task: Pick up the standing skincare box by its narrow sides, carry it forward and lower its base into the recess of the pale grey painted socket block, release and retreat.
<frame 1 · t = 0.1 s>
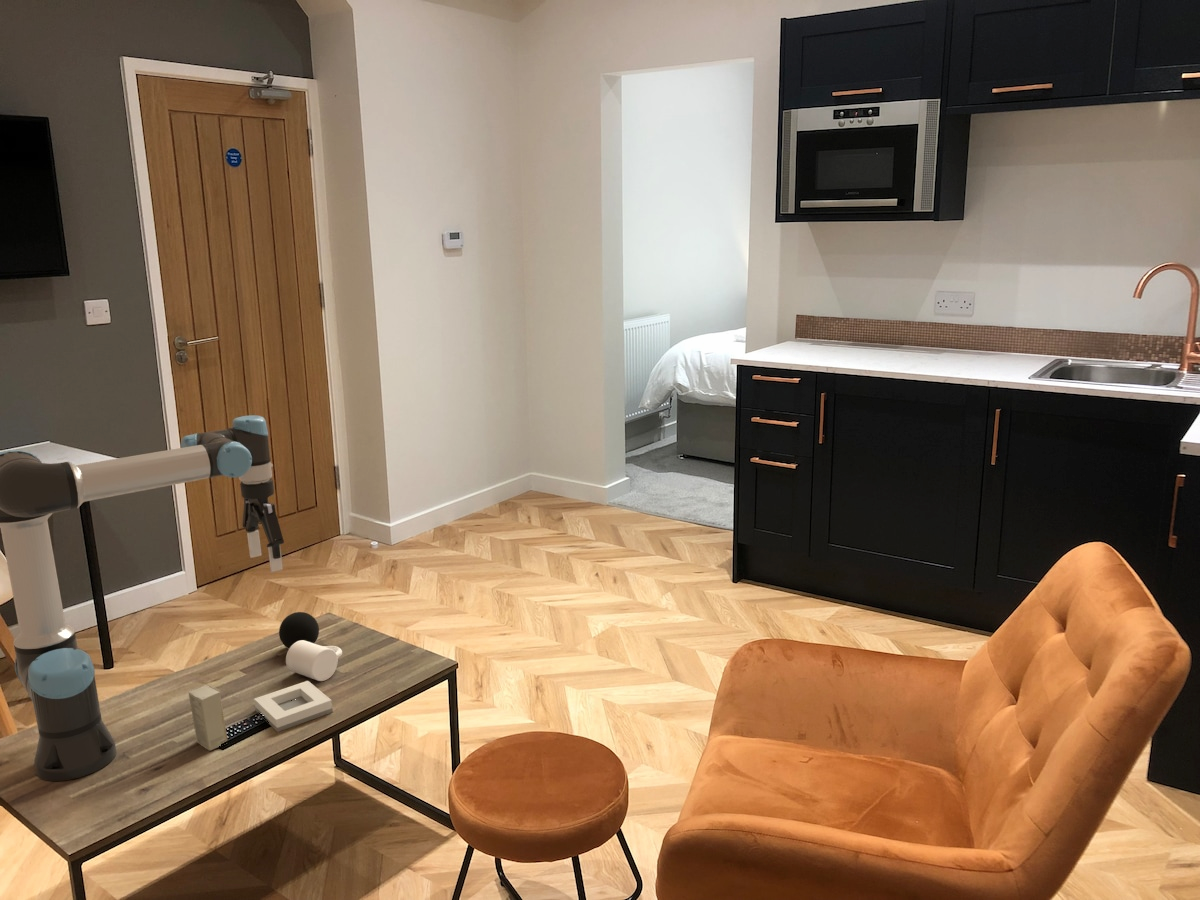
hand: (266, 563, 239), 28 cm above the table, fingers open, 13 cm apart
socket block: (293, 711, 223), on the table
skincare box: (211, 743, 211), on the table
decorative ball: (301, 649, 256), on the table
mug: (319, 672, 243), on the table
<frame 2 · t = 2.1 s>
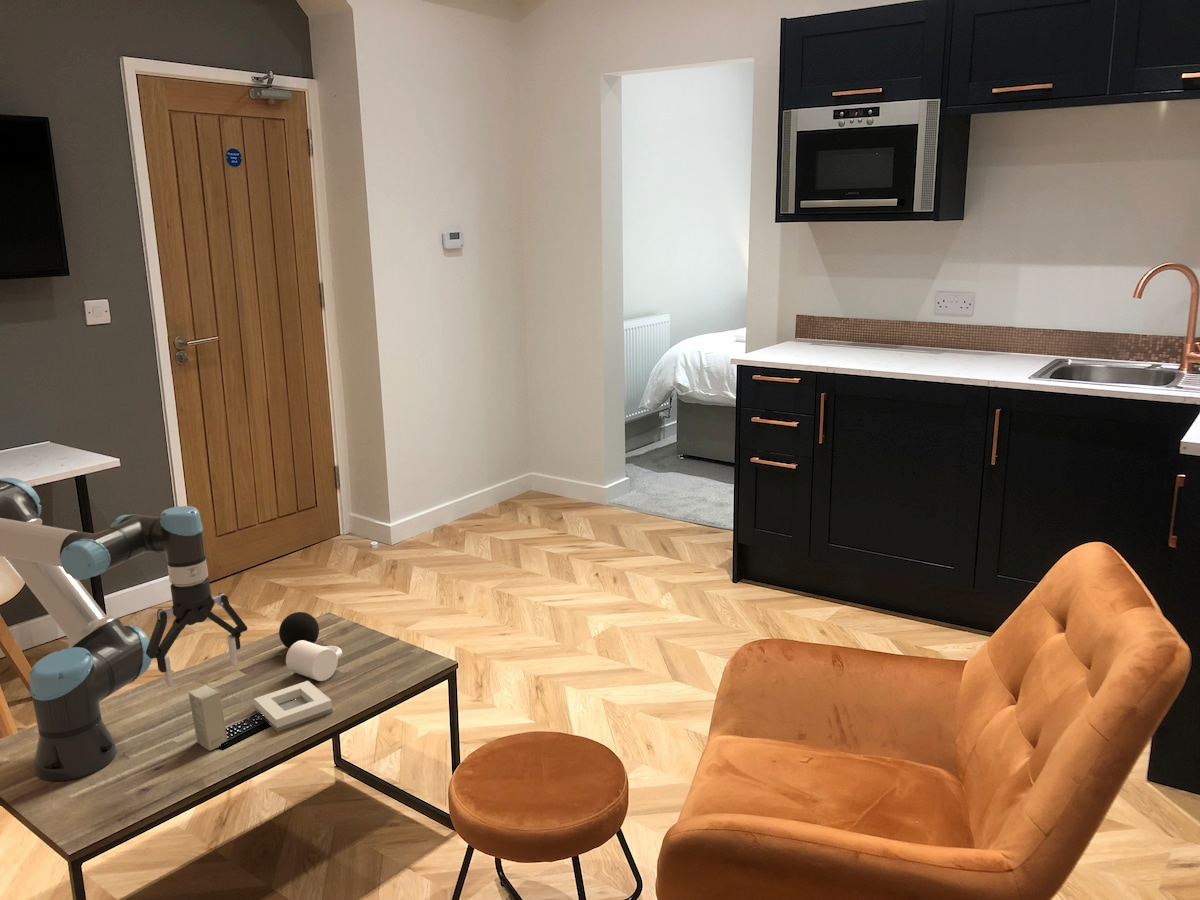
hand: (202, 674, 207), 16 cm above the table, fingers open, 13 cm apart
nothing on the table moved.
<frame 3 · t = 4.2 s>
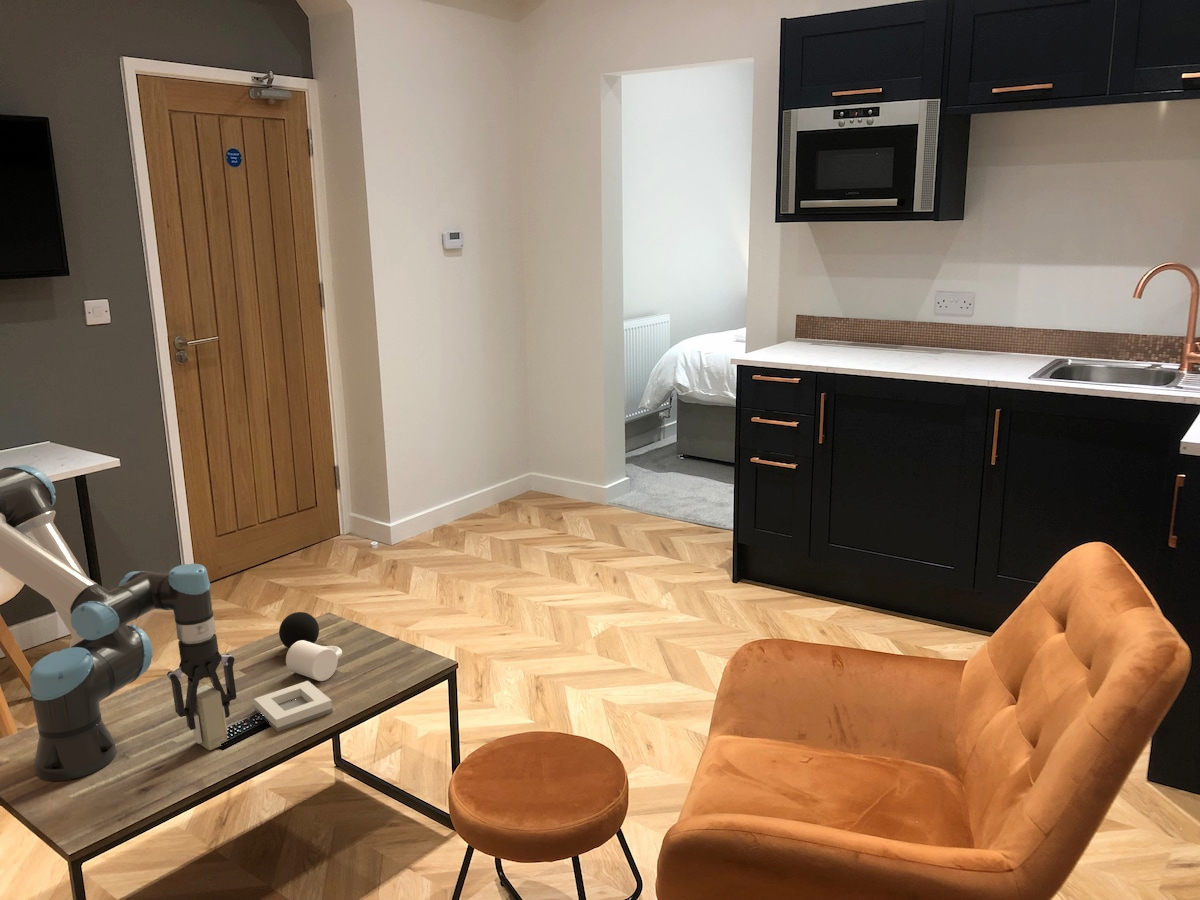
hand: (211, 736, 211), 2 cm above the table, fingers closed on skincare box, 5 cm apart
skincare box: (211, 743, 211), on the table, touching gripper
everything else where it was.
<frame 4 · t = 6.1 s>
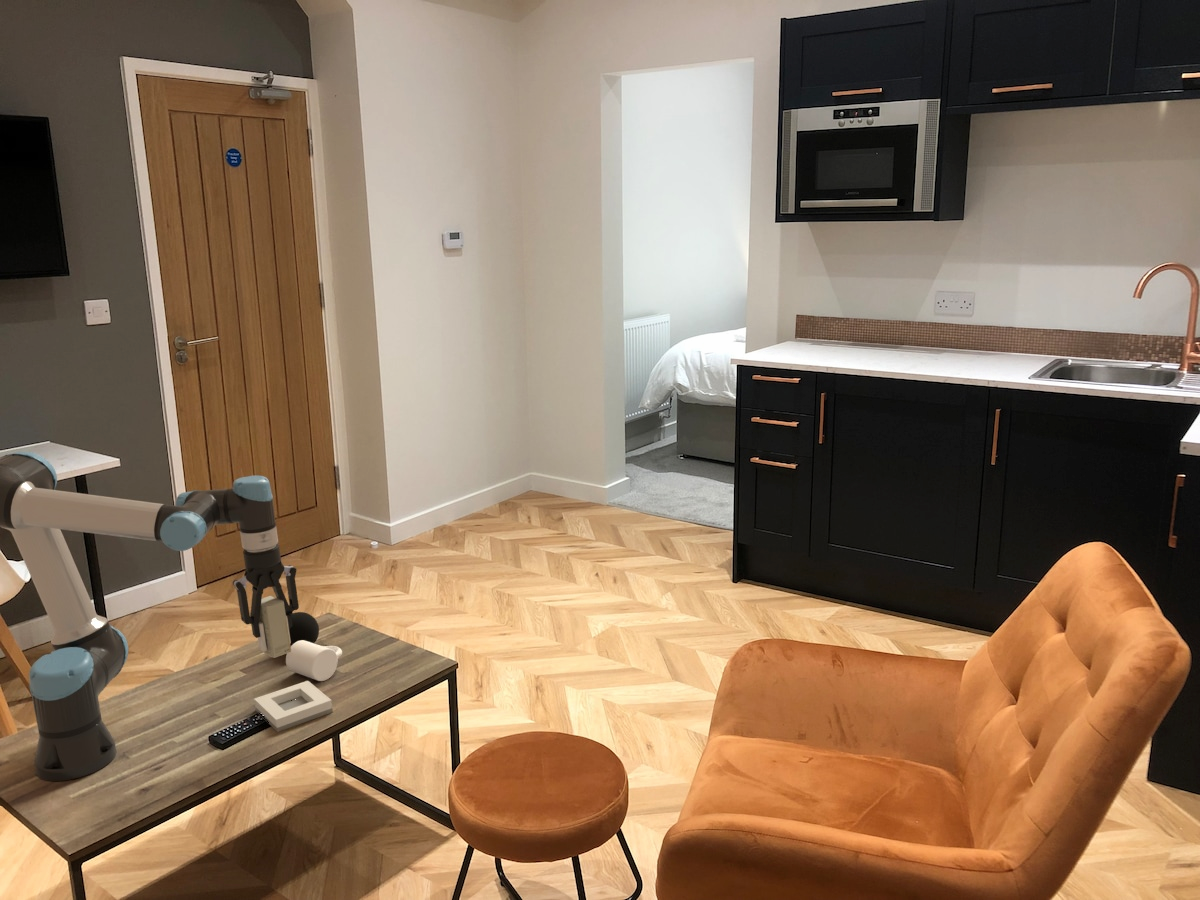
hand: (275, 645, 217), 18 cm above the table, fingers closed on skincare box, 5 cm apart
skincare box: (275, 652, 217), point 16 cm above the table, touching gripper
everything else where it was.
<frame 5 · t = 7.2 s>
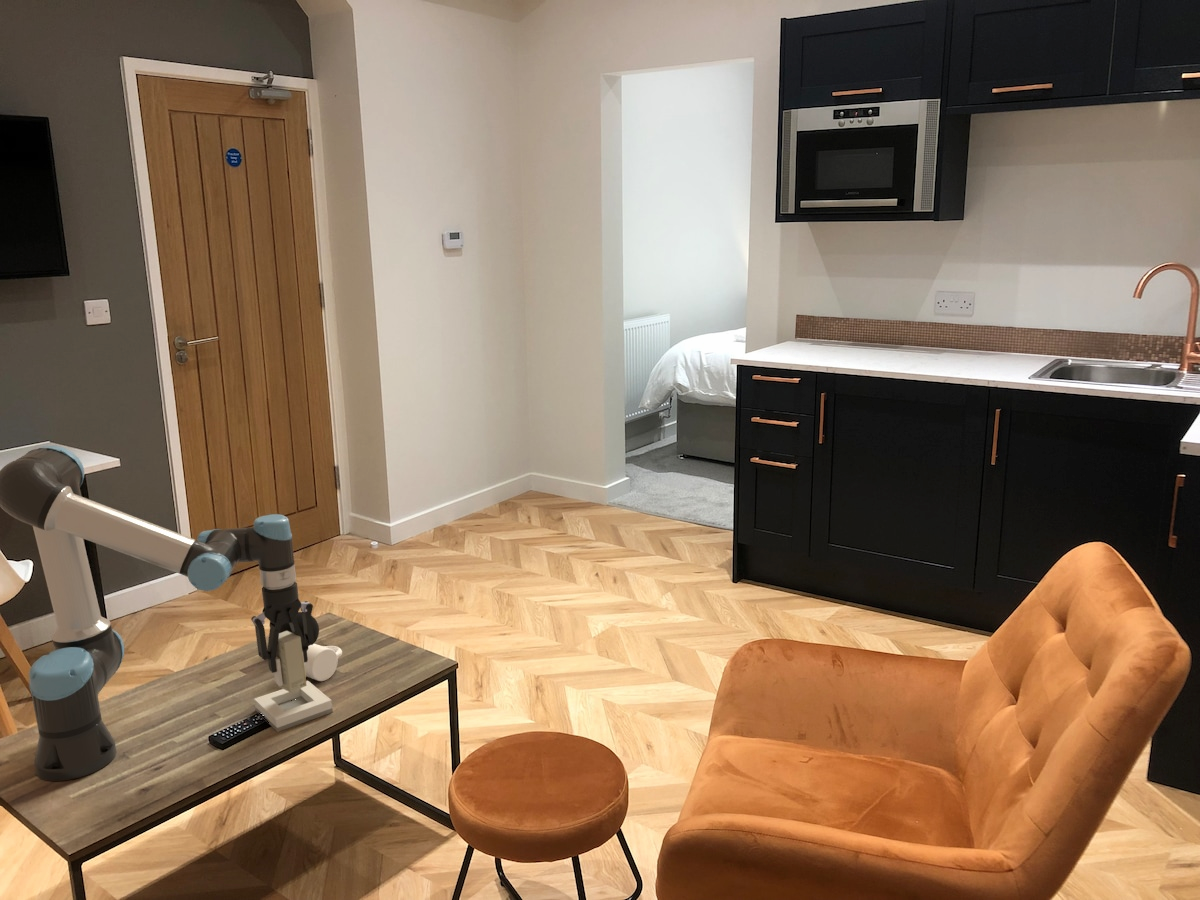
hand: (290, 679, 222), 8 cm above the table, fingers closed on skincare box, 5 cm apart
skincare box: (291, 686, 222), point 6 cm above the table, touching gripper
everything else where it was.
when the fingers open (4 cm above the table, at t = 8.3 s): skincare box drops 1 cm, resting on socket block.
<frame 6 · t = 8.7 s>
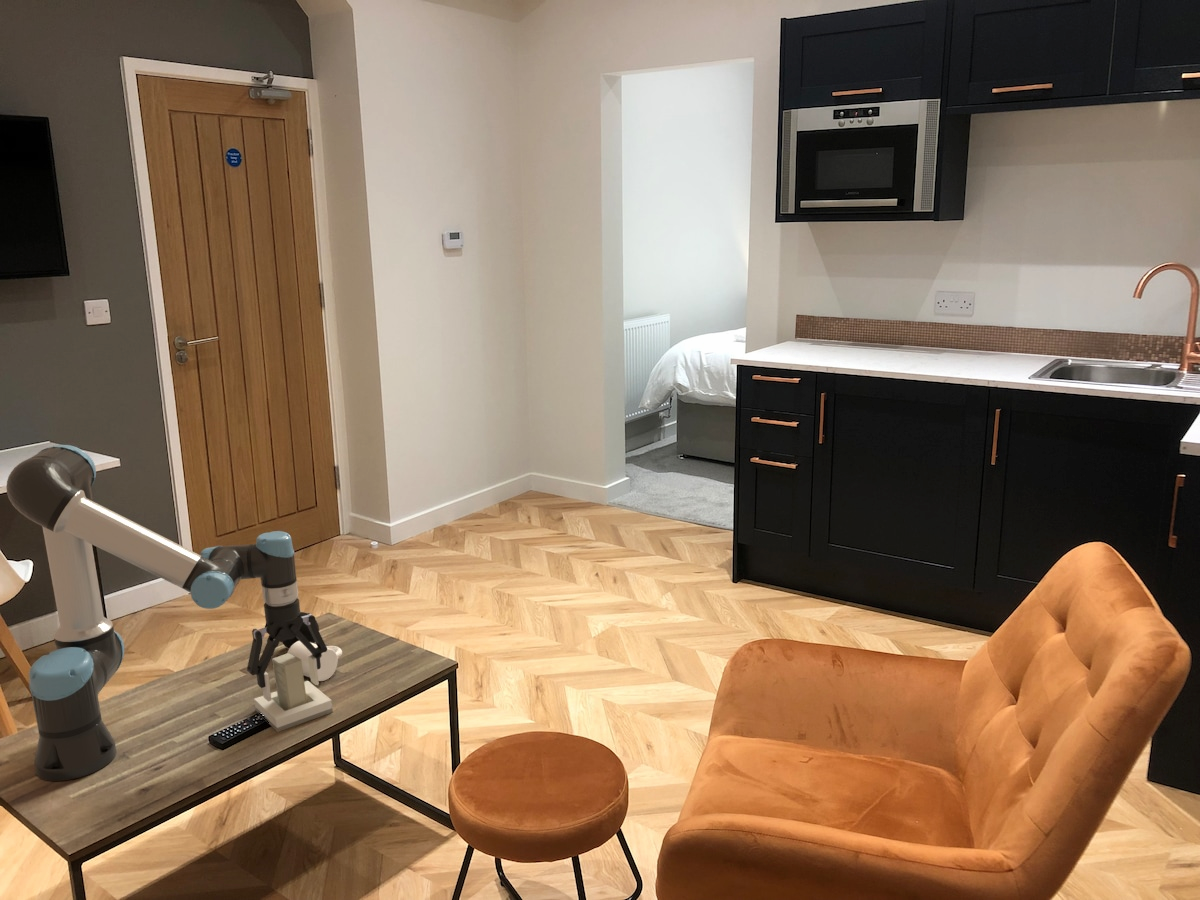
hand: (291, 690, 222), 5 cm above the table, fingers open, 10 cm apart
skincare box: (292, 708, 223), point 1 cm above the table, touching socket block
everything else where it was.
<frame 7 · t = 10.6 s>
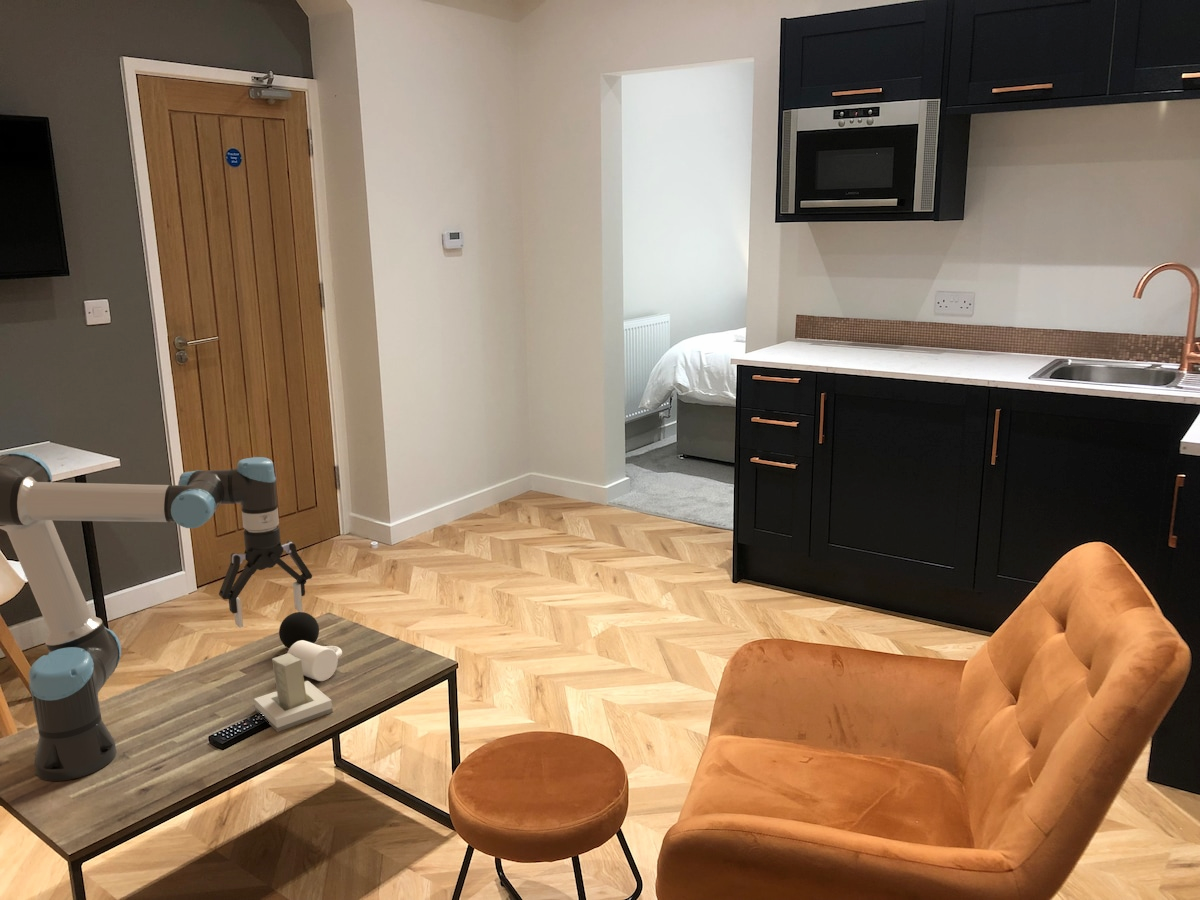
hand: (269, 617, 219), 23 cm above the table, fingers open, 13 cm apart
nothing on the table moved.
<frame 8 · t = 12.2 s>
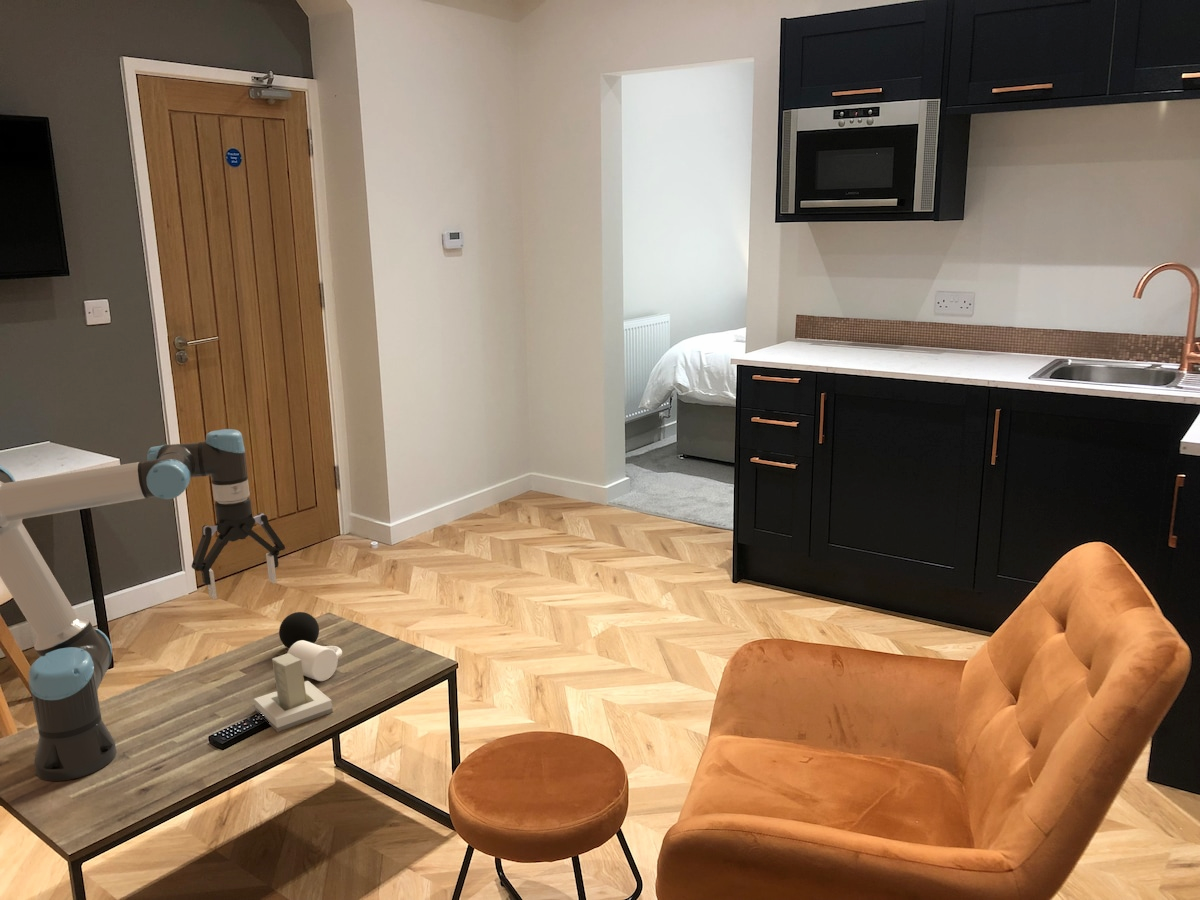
hand: (243, 589, 220), 29 cm above the table, fingers open, 13 cm apart
nothing on the table moved.
at the end: skincare box 0.2 cm off-centre on the socket block, point 0.8 cm above the socket block's base; skincare box tilted 0°; the gripper is holding nothing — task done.
